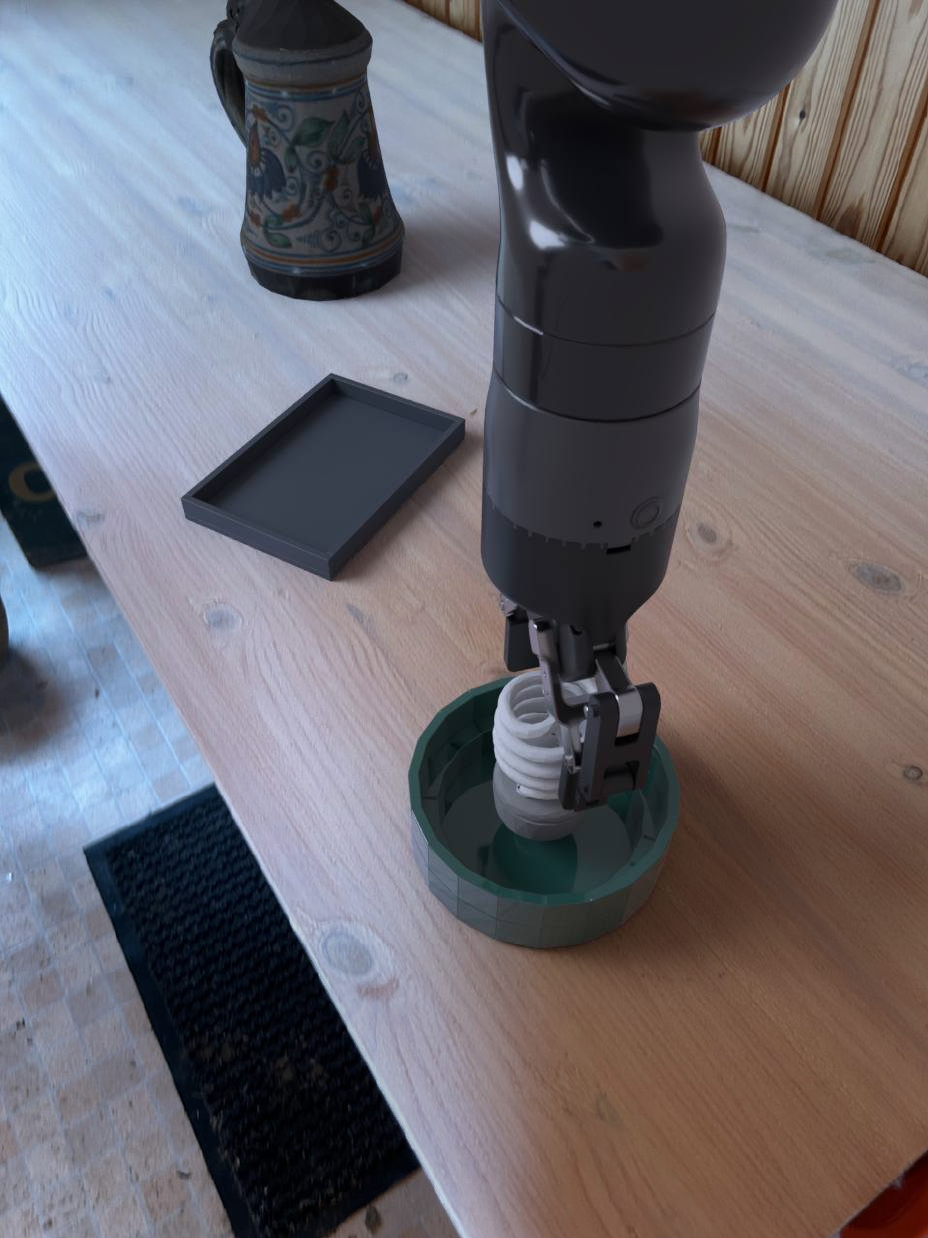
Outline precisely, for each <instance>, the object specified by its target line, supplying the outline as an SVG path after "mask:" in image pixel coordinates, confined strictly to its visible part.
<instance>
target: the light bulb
mask: <svg viewBox="0 0 928 1238" xmlns="http://www.w3.org/2000/svg"><path fill="white" fill-rule="evenodd" d="M515 677H516V678H514V679H512V680H511V681H510V682H509V683H508V684H507V685H506V686H505V687H504V689H503V690H502V692H501V694H500V696H499V699H498V707H497V709H496V712H495V717H494V724H495V725H494V728H493V742H494V746H495V747H494V751H495V757H496V760H497V761H496V764H495V768H494V773H493V791H494V799H495V806H496V810H497V812H498V815H499V817H500V818H501V820H502V821H503V822H504V824H505V825H506V826H507V827H508V828H509V829H510V830H512V831H513V832H515V833H516V834H518V835H520V836H521V837H524V838H528V839H531V840H536V841H550V840H558V839H560V838H562V837H565V836H567V835H569V834H570V833H571V832H573V831H574V830H575V829H576V828H577V827H579V826H580V825H581V823H582V821H583V819H584V817H585V815H586V813H587V811H588V809H587V810H583V811H579V812H574V809H573V810H564V809H563V807H562V805H561V802H560V800H559V797H558V788H559V781H560V774H561V767H562V760H563V754H564V749H563V742H562V735H561V728H560V724H559V723H558V722H557V721H556V720H554V719H553V718H552V717H551V716H550V715H549V714H548V713H531V712H547V710H546V704H545V697H544V690H543V683H542V677H541V670H540V669H539V670H534V671H533V670H532V671H528V672H525V673H524V672H523V673H521V674H520V675H518V677H517V676H515ZM562 687H563V694H564V698H571V697H576V696H580V695H585V694H589V693H594V692H598V690H597V685H596V682H595V679H594V678H589V679H585V680H580V681H576V682H571V683H566V682H562ZM527 713H529V714H527ZM586 722H587V720H584V721H582V722H581V723H580V725H579V732H580V733H581V735H582V737H581V738H580V740H581V742H584V738H585V730H586ZM553 733H554V734H555V735H556V736H555V735H551V734H553Z"/></svg>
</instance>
